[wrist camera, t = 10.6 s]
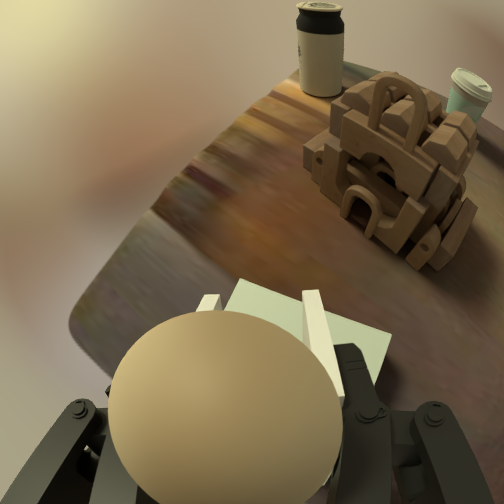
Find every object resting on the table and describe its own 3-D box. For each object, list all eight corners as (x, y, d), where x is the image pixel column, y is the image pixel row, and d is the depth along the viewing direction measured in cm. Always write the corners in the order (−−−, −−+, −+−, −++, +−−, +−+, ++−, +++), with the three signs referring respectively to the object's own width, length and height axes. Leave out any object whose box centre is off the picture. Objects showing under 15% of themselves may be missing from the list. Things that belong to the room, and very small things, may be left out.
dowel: (300, 359, 17) (336, 304, 4) (301, 417, 15) (336, 524, 2) (239, 361, 17) (115, 308, 5) (239, 418, 15) (114, 498, 3)
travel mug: (345, 84, 44) (348, 5, 28) (336, 102, 41) (338, 11, 25) (307, 76, 46) (303, 0, 30) (294, 93, 44) (287, 6, 28)
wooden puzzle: (468, 216, 28) (532, 118, 12) (424, 290, 26) (529, 188, 9) (352, 130, 37) (363, 23, 21) (289, 177, 35) (278, 43, 18)
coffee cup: (447, 137, 35) (467, 84, 24) (432, 110, 39) (446, 61, 28) (480, 146, 34) (502, 99, 23) (464, 118, 37) (480, 74, 27)
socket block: (374, 342, 24) (391, 334, 20) (318, 467, 19) (323, 485, 15) (248, 295, 28) (240, 278, 24) (190, 413, 23) (170, 419, 19)
